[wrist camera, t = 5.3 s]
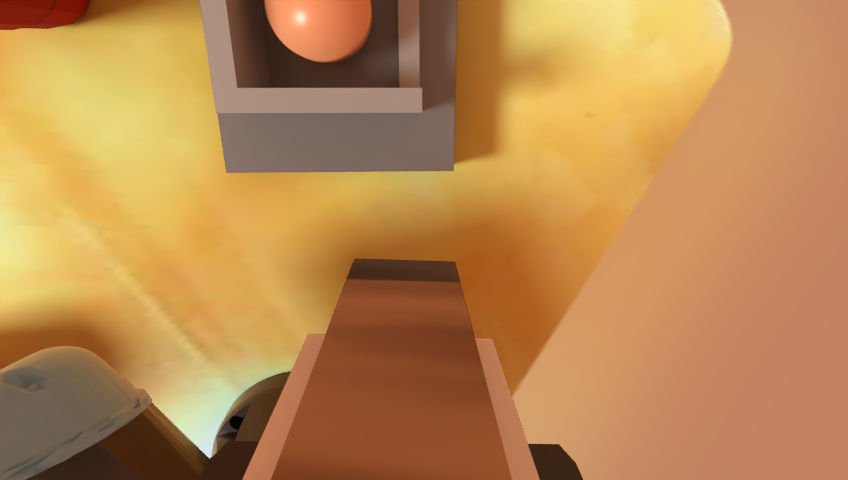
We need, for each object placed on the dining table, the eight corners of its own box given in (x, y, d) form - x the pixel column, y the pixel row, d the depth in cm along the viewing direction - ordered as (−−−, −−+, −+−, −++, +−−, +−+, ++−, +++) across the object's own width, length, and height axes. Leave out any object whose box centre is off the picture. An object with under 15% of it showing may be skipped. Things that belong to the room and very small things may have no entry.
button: (374, 64, 23) (371, 60, 22) (281, 64, 23) (270, 60, 21) (370, -42, 22) (367, -57, 20) (271, -43, 22) (257, -58, 20)
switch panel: (449, 164, 31) (464, 185, 22) (243, 166, 30) (183, 188, 22) (453, -134, 25) (476, -249, 17) (202, -139, 24) (101, -261, 16)
